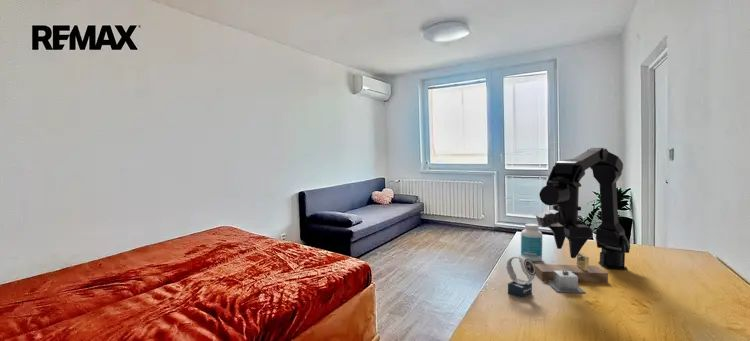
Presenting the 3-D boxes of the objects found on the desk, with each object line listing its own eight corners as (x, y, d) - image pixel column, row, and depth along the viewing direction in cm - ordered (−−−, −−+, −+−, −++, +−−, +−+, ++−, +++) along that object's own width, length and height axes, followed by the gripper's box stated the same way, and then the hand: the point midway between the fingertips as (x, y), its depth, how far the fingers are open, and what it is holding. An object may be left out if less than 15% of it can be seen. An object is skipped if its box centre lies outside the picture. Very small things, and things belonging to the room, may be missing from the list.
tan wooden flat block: (580, 265, 113) (581, 252, 112) (588, 271, 108) (588, 257, 107) (574, 265, 113) (574, 252, 113) (581, 270, 108) (582, 256, 108)
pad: (572, 282, 107) (572, 281, 106) (585, 293, 99) (585, 292, 99) (546, 281, 107) (546, 280, 107) (557, 292, 99) (557, 291, 99)
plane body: (595, 274, 113) (596, 265, 113) (607, 282, 106) (608, 273, 106) (534, 272, 115) (534, 264, 115) (541, 280, 108) (542, 271, 108)
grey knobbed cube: (569, 283, 105) (570, 269, 105) (577, 290, 100) (578, 275, 100) (553, 282, 106) (553, 268, 105) (560, 289, 101) (560, 274, 101)
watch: (528, 300, 94) (529, 262, 94) (502, 291, 101) (503, 255, 100) (538, 295, 98) (539, 258, 97) (512, 286, 104) (513, 251, 103)
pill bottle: (545, 262, 126) (546, 226, 125) (525, 262, 126) (526, 226, 125) (536, 256, 133) (537, 222, 132) (517, 256, 133) (518, 222, 132)
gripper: (528, 197, 111) (527, 244, 112) (552, 207, 93) (550, 262, 94) (564, 198, 110) (562, 244, 111) (594, 207, 92) (593, 263, 93)
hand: (565, 253), depth 102 cm, fingers open, 9 cm apart
